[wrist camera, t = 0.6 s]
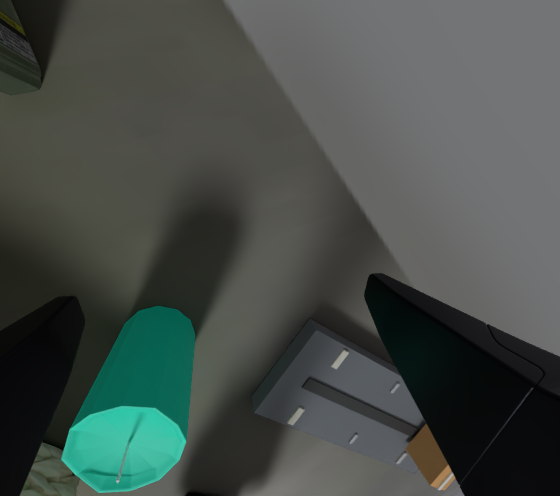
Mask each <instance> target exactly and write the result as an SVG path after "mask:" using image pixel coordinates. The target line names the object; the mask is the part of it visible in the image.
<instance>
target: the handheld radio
mask: <svg viewBox="0 0 560 496" xmlns="http://www.w3.org/2000/svg"><path fill="white" fill-rule="evenodd" d="M41 76H42V75H41V70H40V67H39V64H38V62H37V60H36V57H35V55H34V53H33V50H32V48H31V46H30V43H29V41H28V39H27V36H26V34H25V32H24V29H23V27H22V25H21V22H20V20H19V18H18V15H17V13H16V10H15V8H14V6H13V3H12V1H11V0H0V92H3V93H6V94H9V95H16V94H22V93H27V92H32V91H37V90H39V89H40V88H41V85H42V83H41V79H40V77H41Z"/></svg>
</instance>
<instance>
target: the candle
mask: <svg viewBox="0 0 560 496" xmlns="http://www.w3.org/2000/svg"><path fill="white" fill-rule="evenodd" d="M194 346H195V332H194V329H193V326H192V323H191V320H190V319H189V318H187V317H186V316H185V315H184V314H182V313H181V312H180V311H179V310H177V309H173V308H168V307H163V306H155V307H151V308H147V309H143V310H139V311H138V312H137V313H136V314H134V315H133V316H132V317H131V318H130V319H129V320H128V321H127V322H126V323H125V324H124V326H123V328H122V330H121V332H120V334H119V336H118V337H117V339H116V341H115V343H114V345H113V347H112V349H111V351H110V353H109V355H108V357H107V359H106V361H105V362H104V364H103V366H102V368H101V370H100V372H99V374H98V376H97V378H96V380H95V382H94V384H93V385H92V387H91V389H90V391H89V393H88V395H87V397H86V399H85V401H84V403H83V405H82V407H81V409H80V410H79V412H78V414H77V416H76V418H75V420H74V422H73V424H72V426H71V428H70V430H69V433H68V437H67V440H66V444H65V447H64V451H63V454H62V458H61V460H62V461H63V462H64V463H65V464H66V465H67V466H68V467H69V469H70V470H71V471H72V472H73V473H74V474H75V475H76V476H78V477H79V478H80V479H81V480H83V481H84V482H85V483H87V484H88V485H89V486H91V487H92V488H93V489H94V490H96V491H97V492H98V493H104V492H121V491H132V490H134V489H137V488H140V487H142V486H145V485H148V484H150V483H153V482H155V481H158V480H160V479H161V478H162V477H163V476H164V475H165V474H166V473H167V472H168V471H169V470H170V469H171V468H172V467H173V466H174V465H175V464H176V463H177V462H178V461H179V460H180V457H181V454H182V452H183V449H184V446H185V444H186V440H187V429H188V417H189V405H190V393H191V382H192V370H193V358H194Z"/></svg>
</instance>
